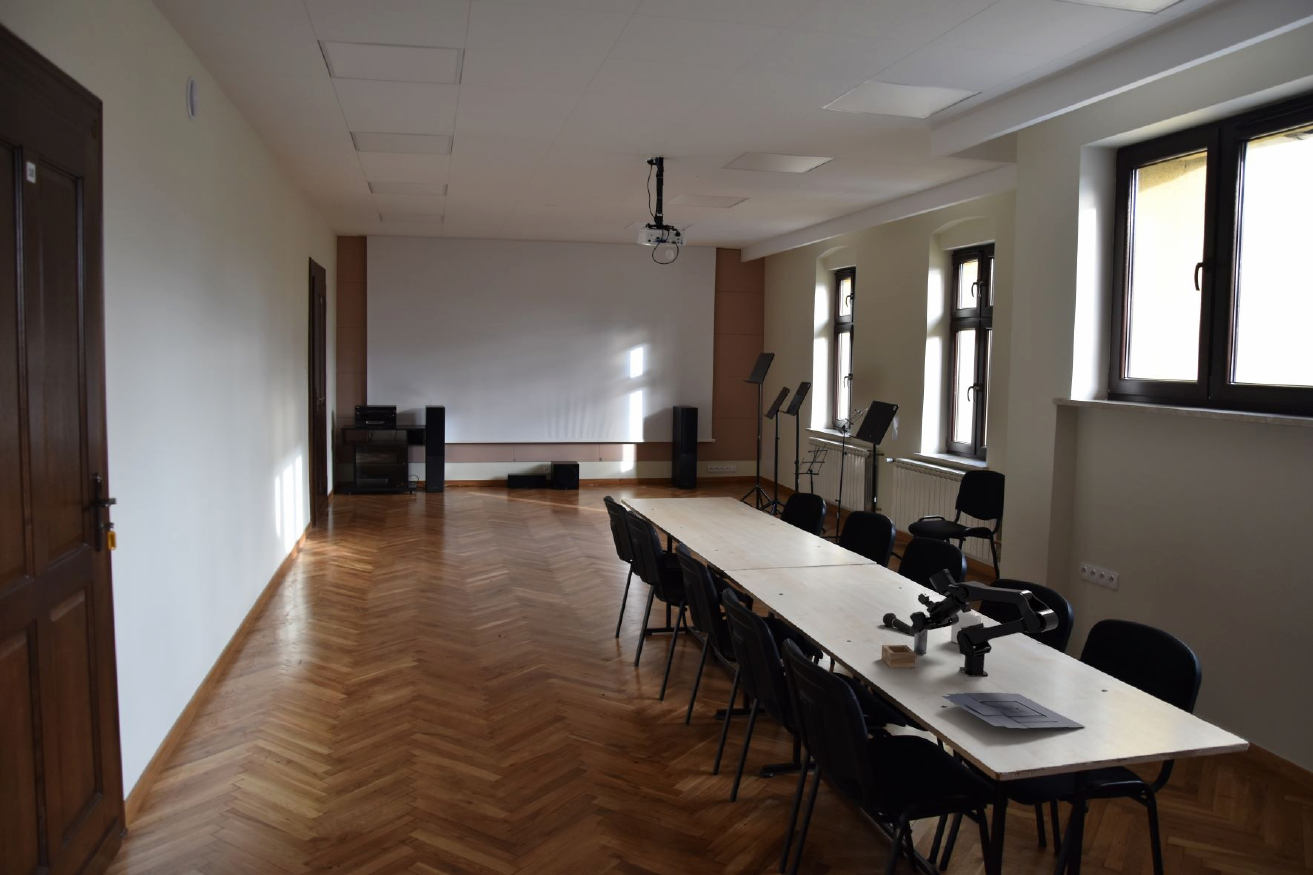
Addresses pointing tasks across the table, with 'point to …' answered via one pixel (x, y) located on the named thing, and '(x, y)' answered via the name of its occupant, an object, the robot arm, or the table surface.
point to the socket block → (898, 656)
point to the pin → (920, 642)
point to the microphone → (895, 622)
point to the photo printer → (964, 622)
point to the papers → (1009, 710)
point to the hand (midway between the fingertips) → (919, 630)
